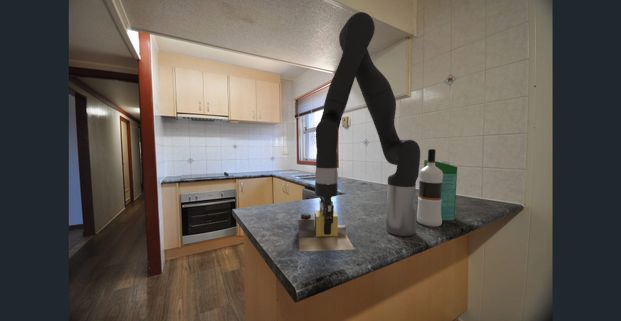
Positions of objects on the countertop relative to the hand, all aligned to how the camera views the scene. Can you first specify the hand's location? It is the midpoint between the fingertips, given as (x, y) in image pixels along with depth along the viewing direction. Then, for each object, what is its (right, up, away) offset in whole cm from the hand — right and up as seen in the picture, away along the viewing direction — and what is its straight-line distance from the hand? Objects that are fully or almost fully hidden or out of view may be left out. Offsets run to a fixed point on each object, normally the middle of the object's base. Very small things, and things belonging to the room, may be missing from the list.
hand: (325, 229), depth 70 cm
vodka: (+43, -2, +14) cm, 45 cm away
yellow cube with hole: (0, -1, 0) cm, 1 cm away
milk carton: (+51, -2, +22) cm, 56 cm away
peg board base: (-1, -3, -3) cm, 4 cm away
